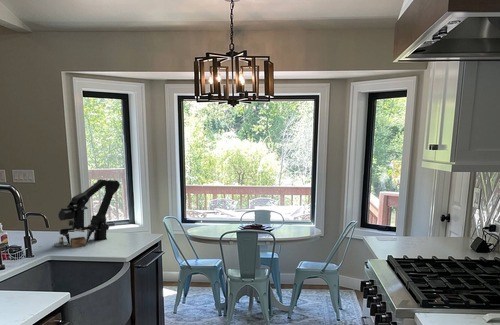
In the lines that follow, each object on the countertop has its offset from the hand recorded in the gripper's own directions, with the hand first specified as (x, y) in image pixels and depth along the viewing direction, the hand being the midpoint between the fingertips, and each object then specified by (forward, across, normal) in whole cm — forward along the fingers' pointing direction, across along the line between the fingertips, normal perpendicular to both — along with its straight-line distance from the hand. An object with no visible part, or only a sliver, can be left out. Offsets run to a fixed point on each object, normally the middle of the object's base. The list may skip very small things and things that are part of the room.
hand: (78, 243), depth 174 cm
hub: (+1, +8, -6) cm, 10 cm away
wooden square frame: (+1, 0, 0) cm, 1 cm away
